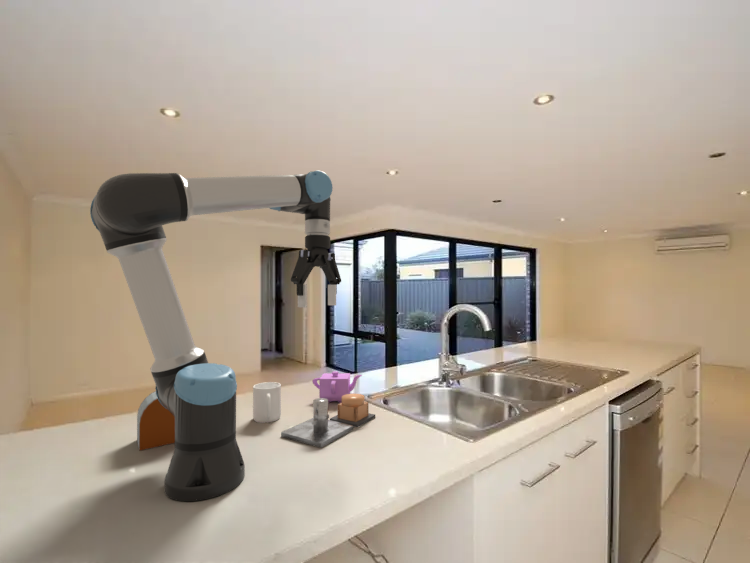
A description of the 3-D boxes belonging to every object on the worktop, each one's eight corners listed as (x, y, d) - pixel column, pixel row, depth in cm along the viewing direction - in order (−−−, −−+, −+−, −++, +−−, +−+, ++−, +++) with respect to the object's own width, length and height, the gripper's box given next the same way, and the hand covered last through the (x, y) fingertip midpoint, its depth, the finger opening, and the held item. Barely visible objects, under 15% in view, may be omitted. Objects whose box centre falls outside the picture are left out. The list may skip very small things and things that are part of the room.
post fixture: (321, 447, 94) (321, 411, 94) (281, 436, 101) (281, 402, 101) (353, 429, 106) (353, 397, 106) (315, 420, 113) (315, 390, 113)
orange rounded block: (197, 427, 108) (197, 380, 109) (203, 436, 101) (203, 386, 102) (136, 439, 100) (137, 388, 100) (139, 450, 93) (139, 396, 93)
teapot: (363, 394, 140) (363, 367, 141) (361, 406, 127) (361, 376, 127) (315, 395, 141) (315, 368, 141) (308, 406, 127) (308, 376, 127)
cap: (337, 417, 113) (337, 398, 113) (350, 411, 119) (350, 392, 119) (356, 422, 109) (356, 401, 110) (368, 415, 115) (368, 395, 115)
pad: (357, 427, 107) (357, 424, 107) (329, 421, 113) (329, 418, 113) (375, 417, 116) (375, 414, 116) (349, 411, 121) (349, 409, 121)
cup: (279, 412, 121) (279, 381, 121) (283, 425, 110) (283, 390, 110) (252, 415, 118) (252, 383, 118) (253, 429, 107) (253, 393, 107)
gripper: (297, 229, 99) (297, 308, 99) (351, 239, 121) (352, 304, 120) (277, 231, 103) (277, 307, 103) (333, 240, 125) (333, 304, 124)
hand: (317, 306), depth 112 cm, fingers open, 13 cm apart
